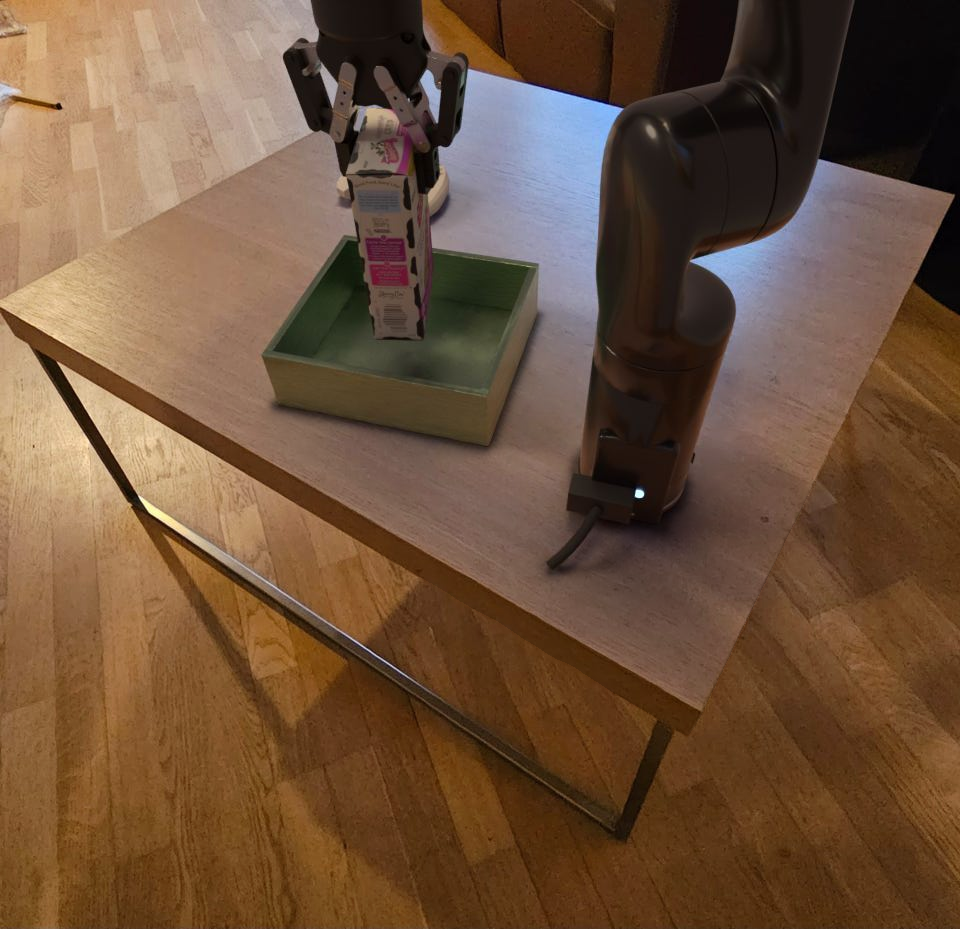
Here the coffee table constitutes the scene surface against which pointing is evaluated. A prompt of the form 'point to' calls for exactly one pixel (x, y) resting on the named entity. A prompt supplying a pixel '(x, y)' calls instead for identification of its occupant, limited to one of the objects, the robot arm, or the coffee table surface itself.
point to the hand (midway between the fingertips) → (391, 183)
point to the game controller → (434, 196)
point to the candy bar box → (391, 227)
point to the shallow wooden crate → (408, 347)
